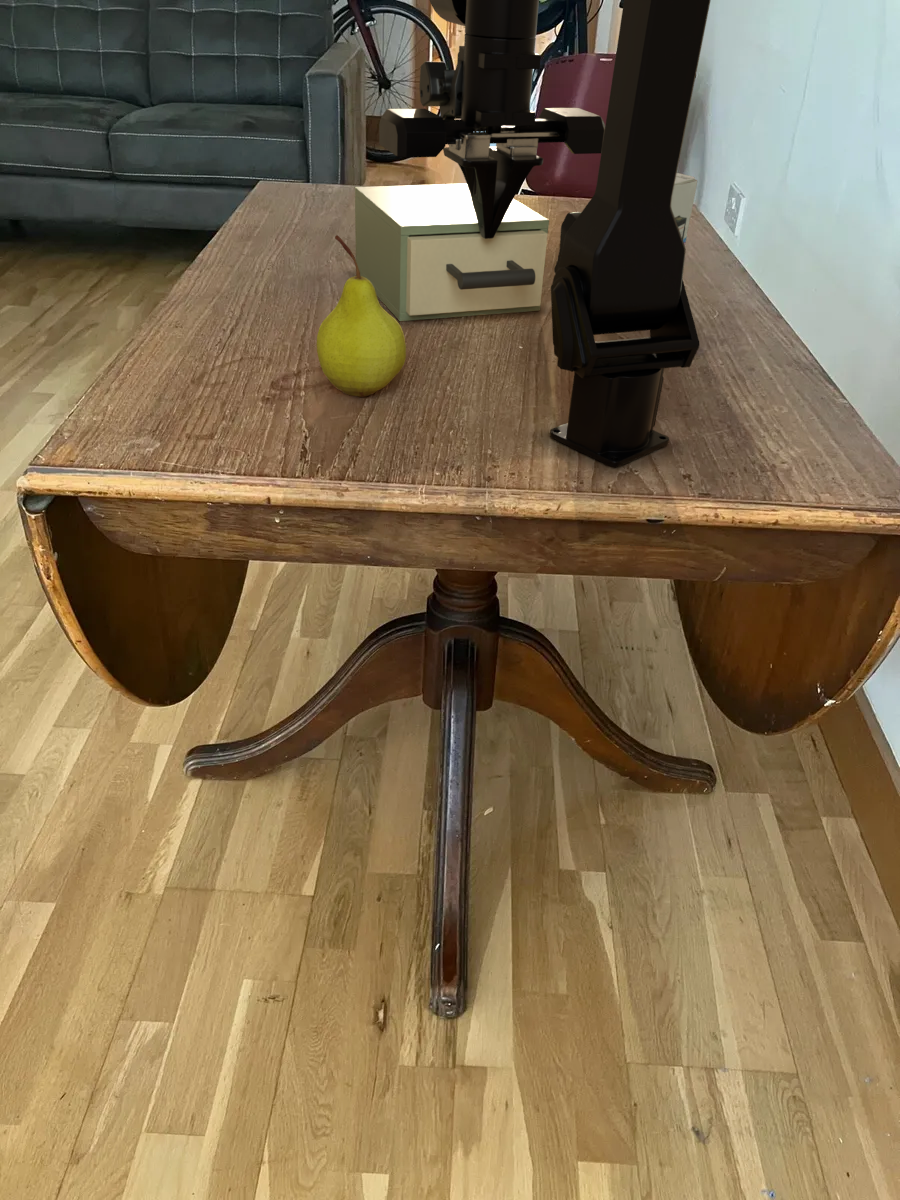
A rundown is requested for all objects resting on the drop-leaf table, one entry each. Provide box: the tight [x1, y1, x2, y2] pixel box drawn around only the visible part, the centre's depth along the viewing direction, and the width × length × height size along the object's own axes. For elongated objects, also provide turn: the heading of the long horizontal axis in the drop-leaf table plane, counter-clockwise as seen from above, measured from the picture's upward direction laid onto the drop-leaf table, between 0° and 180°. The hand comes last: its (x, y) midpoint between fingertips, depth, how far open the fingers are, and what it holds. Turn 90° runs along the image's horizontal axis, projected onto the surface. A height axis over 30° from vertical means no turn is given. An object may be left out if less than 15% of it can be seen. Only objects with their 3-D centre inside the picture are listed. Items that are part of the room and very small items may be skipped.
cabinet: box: [354, 183, 550, 322], centre depth 94 cm, size 16×15×9 cm
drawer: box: [406, 230, 549, 316], centre depth 91 cm, size 19×13×7 cm
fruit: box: [316, 234, 407, 398], centre depth 71 cm, size 7×7×12 cm
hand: (487, 237), depth 84 cm, fingers closed
